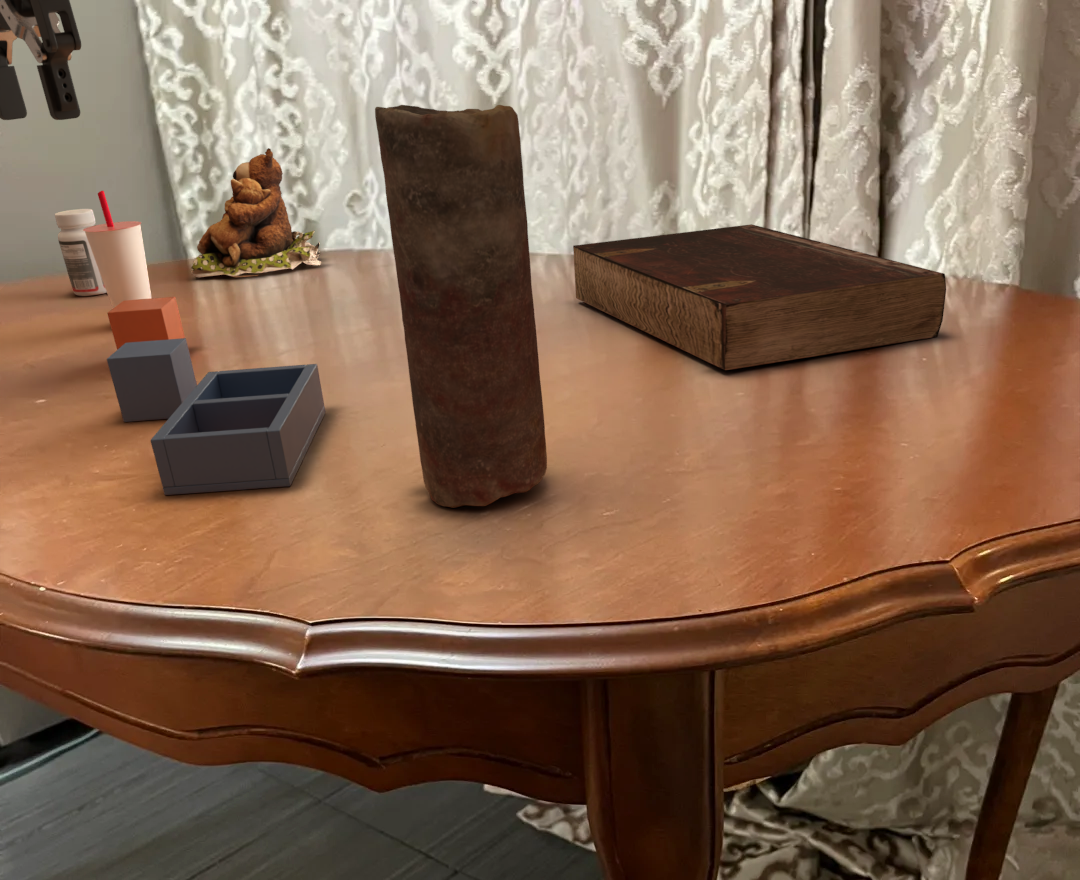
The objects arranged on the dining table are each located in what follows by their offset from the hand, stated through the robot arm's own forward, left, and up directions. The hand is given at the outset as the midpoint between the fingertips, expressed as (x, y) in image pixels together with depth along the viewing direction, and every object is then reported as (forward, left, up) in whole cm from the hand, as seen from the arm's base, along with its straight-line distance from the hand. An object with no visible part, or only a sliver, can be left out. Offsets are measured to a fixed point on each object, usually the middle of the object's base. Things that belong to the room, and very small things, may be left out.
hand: (40, 119), depth 89 cm
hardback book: (+56, -3, -19) cm, 59 cm away
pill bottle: (-11, +31, -19) cm, 38 cm away
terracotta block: (+5, -2, -19) cm, 20 cm away
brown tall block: (+35, -39, -19) cm, 56 cm away
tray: (+19, -29, -19) cm, 39 cm away
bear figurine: (+6, +39, -19) cm, 44 cm away
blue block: (+10, -18, -19) cm, 28 cm away
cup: (-1, +13, -19) cm, 23 cm away
